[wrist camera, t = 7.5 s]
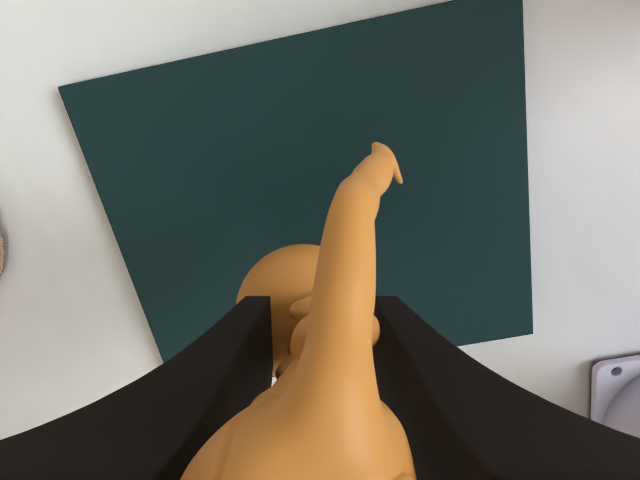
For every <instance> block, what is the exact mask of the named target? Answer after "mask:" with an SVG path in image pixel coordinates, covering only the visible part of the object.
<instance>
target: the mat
mask: <svg viewBox="0 0 640 480" xmlns="http://www.w3.org/2000/svg"><path fill="white" fill-rule="evenodd" d="M58 89H59V92H60V94H61V97H62V100H63V102H64V105H65V107H66V110H67V113H68V115H69V118H70V120H71V123H72V126H73V128H74V131H75V133H76V136H77V139H78V141H79V144H80V146H81V149H82V152H83V154H84V157H85V159H86V162H87V165H88V167H89V170H90V172H91V175H92V178H93V180H94V183H95V185H96V188H97V191H98V193H99V196H100V198H101V201H102V204H103V206H104V209H105V211H106V214H107V217H108V219H109V222H110V224H111V227H112V230H113V232H114V235H115V237H116V240H117V243H118V245H119V248H120V250H121V253H122V256H123V258H124V261H125V263H126V266H127V269H128V271H129V274H130V276H131V279H132V282H133V284H134V287H135V289H136V292H137V295H138V297H139V300H140V302H141V305H142V308H143V310H144V313H145V315H146V318H147V321H148V323H149V326H150V328H151V331H152V334H153V336H154V339H155V341H156V344H157V347H158V349H159V352H160V354H161V357H162V360H163V362H164V363H165V362H166V361H168V360H169V359H171V358H172V357H174V356H175V355H176V354H178V353H179V352H181V351H182V350H183V349H184V348H186V347H187V346H188V345H190V344H191V343H192V342H193V341H195V340H196V339H197V338H199V337H200V336H201V335H202V334H204V333H205V332H206V331H207V330H208V329H210V328H211V327H212V326H213V325H214V324H215V323H216V322H218V321H219V320H220V319H221V318H222V317H223V316H224V315H225V314H226V313H228V312H229V311H230V310H231V309H232V308H233V307H234V306H235V305H236V300H237V296H238V292H239V290H240V287H241V285H242V283H243V281H244V279H245V277H246V276H247V274H248V273H249V271H250V270H251V269H252V268H253V267H254V265H255V264H256V263H257V262H259V261H260V260H261V259H262V258H264V257H265V256H266V255H268V254H270V253H271V252H273V251H275V250H277V249H280V248H283V247H286V246H290V245H296V244H312V245H318V246H320V245H321V240H322V235H323V231H324V227H325V223H326V219H327V215H328V211H329V208H330V205H331V203H332V200H333V198H334V195H335V193H336V191H337V189H338V187H339V185H340V184H341V182H342V181H343V180H344V179H346V178H347V177H349V176H350V175H351V174H352V172H353V171H354V169H355V168H356V167H357V166H358V165H359V164H360V163H361V162H362V161H363V160H364V159H365V158H366V157H367V156H369V155H371V152H372V144H373V143H374V142H379V143H381V144H384V145H386V146H387V147H388V148H389V149H390V150H391V151H392V152H393V154H394V156H395V158H396V161H397V163H398V166H399V170H400V173H401V176H402V179H403V183H402V184H399V183H398V182H397V181H396V180H395V178H394V177H392V180H391V183H390V185H389V187H388V189H387V190H386V191H385V192H384V193H383V194H382V195H381V197H380V203H379V209H378V212H377V215H376V218H375V244H376V295H375V296H397V297H399V298H400V299H401V300H402V301H403V302H404V303H405V304H407V305H408V306H409V307H410V308H411V309H412V310H413V311H414V312H415V313H416V314H418V315H419V316H420V317H421V318H422V319H423V320H424V321H425V322H427V323H428V324H429V325H430V326H431V327H432V328H434V329H435V330H436V331H437V332H438V333H440V334H441V335H442V336H443V337H445V338H446V339H447V340H448V341H450V342H451V343H452V344H454V345H455V346H462V345H468V344H474V343H480V342H486V341H492V340H498V339H504V338H510V337H516V336H522V335H528V334H533V316H532V285H531V253H530V222H529V190H528V159H527V127H526V96H525V64H524V33H523V1H522V0H453V1H448V2H444V3H439V4H434V5H430V6H425V7H421V8H416V9H412V10H407V11H402V12H398V13H393V14H389V15H384V16H380V17H375V18H370V19H366V20H361V21H357V22H352V23H348V24H343V25H338V26H334V27H329V28H325V29H320V30H316V31H311V32H306V33H302V34H297V35H293V36H288V37H284V38H279V39H274V40H270V41H265V42H261V43H256V44H252V45H247V46H242V47H238V48H233V49H229V50H224V51H220V52H215V53H210V54H206V55H201V56H197V57H192V58H188V59H183V60H178V61H174V62H169V63H165V64H160V65H156V66H151V67H146V68H142V69H137V70H133V71H128V72H124V73H119V74H114V75H110V76H105V77H101V78H96V79H91V80H87V81H82V82H78V83H73V84H69V85H64V86H59V87H58ZM272 377H274V376H272Z"/></svg>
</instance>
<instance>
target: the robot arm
mask: <svg viewBox="0 0 640 480" xmlns="http://www.w3.org/2000/svg"><path fill="white" fill-rule="evenodd" d="M374 316H375V317H376V318H377V320H378V322H379V326H380V335H379V339H378V341H377V343H376V344H375V345H374V346H373V347H372V351H373V361H374V368H375V375H376V381H377V387H378V393H379V398H380V400H381V401H382V402H383V403H385V404H386V405H387V406H388V407H389V409H390V410H391V411H392V412H393V413H394V415H395V416H396V417H397V418H398V420H399V421H400V423H401V425H402V427H403V429H404V431H405V434H406V436H407V439H408V443H409V446H410V450H411V454H412V458H413V463H414V468H415V473H416V478H417V480H640V355H635V356H629V357H622V358H616V359H610V360H603V361H600V362H597V363H596V364H595V365H594V366H593V368H592V385H591V420H590V419H588V418H585V417H583V416H581V415H578V414H576V413H573V412H571V411H569V410H567V409H564V408H562V407H560V406H558V405H556V404H553V403H551V402H549V401H547V400H545V399H543V398H541V397H539V396H537V395H535V394H533V393H531V392H529V391H527V390H525V389H523V388H521V387H519V386H518V385H516V384H514V383H512V382H510V381H509V380H507V379H505V378H503V377H502V376H500V375H498V374H497V373H495V372H494V371H492V370H490V369H489V368H487V367H485V366H484V365H482V364H481V363H479V362H478V361H476V360H474V359H473V358H472V357H470V356H469V355H467V354H466V353H465V352H463V351H462V350H460V349H459V348H458V347H456V346H455V345H454V344H452V343H451V342H450V341H448V340H447V339H446V338H445V337H443V336H442V335H441V334H440V333H438V332H437V331H436V330H435V329H434V328H432V327H431V326H430V325H429V324H428V323H427V322H425V321H424V320H423V319H422V318H421V317H420V316H419V315H418V314H416V313H415V312H414V311H413V310H412V309H411V308H410V307H409V306H408V305H407V304H405V303H404V302H403V301H402V300H401V299H400V298H399V297H397V296H375V307H374ZM614 368H616V369H614ZM612 369H614V370H613V371H612ZM272 374H273V346H272V323H271V301H270V296H245V297H244V298H243V299H242V300H241V301H239V302H238V303H237V304H236V305H235V306H234V307H233V308H232V309H231V310H230V311H229V312H228V313H226V314H225V315H224V316H223V317H222V318H221V319H220V320H219V321H218V322H216V323H215V324H214V325H213V326H212V327H211V328H210V329H208V330H207V331H206V332H205V333H204V334H202V335H201V336H200V337H199V338H197V339H196V340H195V341H193V342H192V343H191V344H190V345H188V346H187V347H186V348H184V349H183V350H182V351H181V352H179V353H178V354H176V355H175V356H174V357H172V358H171V359H169V360H168V361H166V362H165V363H163V364H162V365H160V366H159V367H157V368H155V369H154V370H152V371H151V372H149V373H147V374H146V375H144V376H143V377H141V378H139V379H137V380H136V381H134V382H132V383H130V384H128V385H126V386H124V387H122V388H121V389H119V390H117V391H115V392H113V393H111V394H109V395H107V396H105V397H103V398H101V399H100V400H98V401H96V402H94V403H91V404H89V405H87V406H85V407H83V408H80V409H78V410H76V411H74V412H72V413H69V414H67V415H65V416H62V417H60V418H57V419H55V420H53V421H50V422H48V423H45V424H43V425H41V426H38V427H35V428H33V429H30V430H28V431H25V432H22V433H20V434H17V435H14V436H11V437H8V438H5V439H2V440H0V480H180V479H181V477H182V475H183V473H184V471H185V470H186V468H187V466H188V465H189V463H190V462H191V460H192V459H193V458H194V456H195V455H196V454H197V452H198V451H199V450H200V449H201V447H202V446H203V445H204V444H205V443H206V442H207V441H208V440H209V439H210V438H211V436H212V435H213V434H214V433H216V432H217V431H218V430H219V429H220V428H221V427H222V426H223V425H224V424H225V423H227V422H228V421H229V420H230V419H231V418H233V417H234V416H235V415H237V414H238V413H239V412H241V411H242V410H244V409H245V408H247V407H248V406H250V405H251V403H252V402H253V400H254V399H255V398H256V397H257V396H258V395H260V394H261V393H263V392H264V391H266V390H267V389H269V388H270V387H271V384H272Z"/></svg>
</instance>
